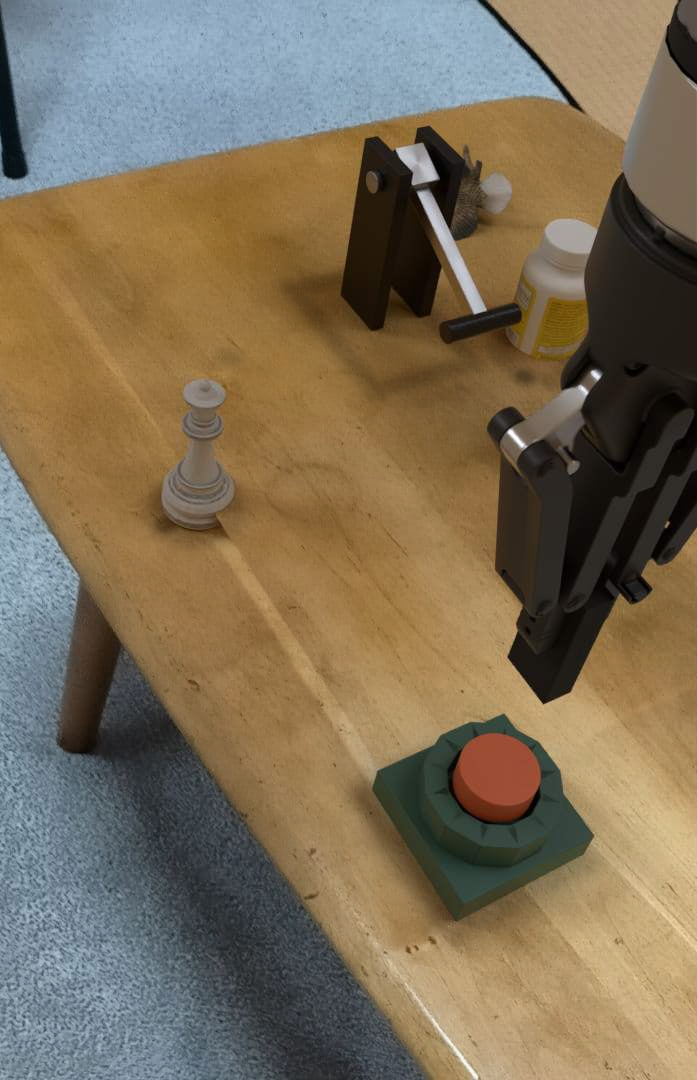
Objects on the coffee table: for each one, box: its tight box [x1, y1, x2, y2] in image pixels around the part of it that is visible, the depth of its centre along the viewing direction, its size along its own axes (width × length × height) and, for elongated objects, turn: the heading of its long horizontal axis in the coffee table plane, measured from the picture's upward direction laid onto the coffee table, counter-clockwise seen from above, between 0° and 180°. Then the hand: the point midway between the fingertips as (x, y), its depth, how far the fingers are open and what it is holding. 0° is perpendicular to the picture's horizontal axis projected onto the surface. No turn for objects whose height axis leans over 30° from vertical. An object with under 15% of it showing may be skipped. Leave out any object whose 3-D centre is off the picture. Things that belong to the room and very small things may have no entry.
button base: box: [371, 713, 595, 922], centre depth 62 cm, size 8×8×4 cm
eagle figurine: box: [450, 144, 514, 242], centre depth 95 cm, size 8×7×9 cm
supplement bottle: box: [505, 218, 598, 361], centre depth 86 cm, size 5×5×10 cm
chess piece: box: [161, 378, 235, 531], centre depth 71 cm, size 4×4×10 cm
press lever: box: [392, 143, 522, 345], centre depth 80 cm, size 13×6×2 cm, turn 30°
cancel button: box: [453, 733, 541, 823], centre depth 60 cm, size 4×4×2 cm
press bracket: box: [340, 125, 466, 332], centre depth 84 cm, size 12×8×14 cm, turn 30°
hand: (538, 674), depth 53 cm, fingers closed
